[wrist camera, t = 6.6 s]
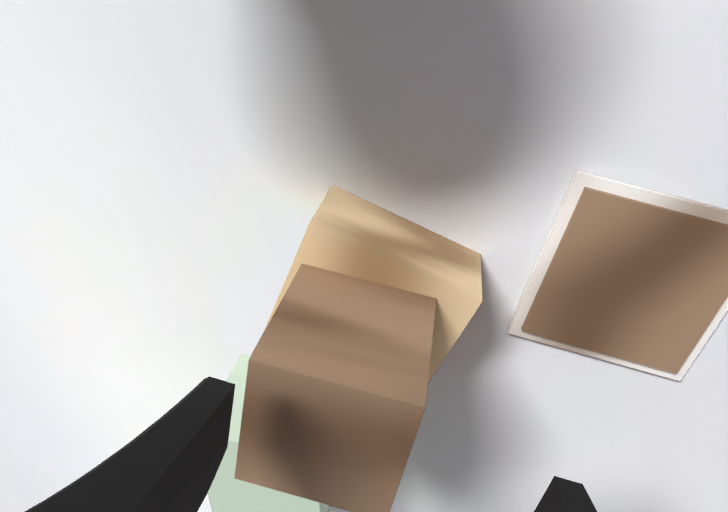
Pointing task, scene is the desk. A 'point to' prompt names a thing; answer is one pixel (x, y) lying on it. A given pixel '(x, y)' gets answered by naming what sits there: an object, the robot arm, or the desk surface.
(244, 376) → the sage block
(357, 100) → the desk surface
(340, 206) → the maple block
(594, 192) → the tile
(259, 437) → the walnut block
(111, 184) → the desk surface
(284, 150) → the desk surface
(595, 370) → the desk surface
